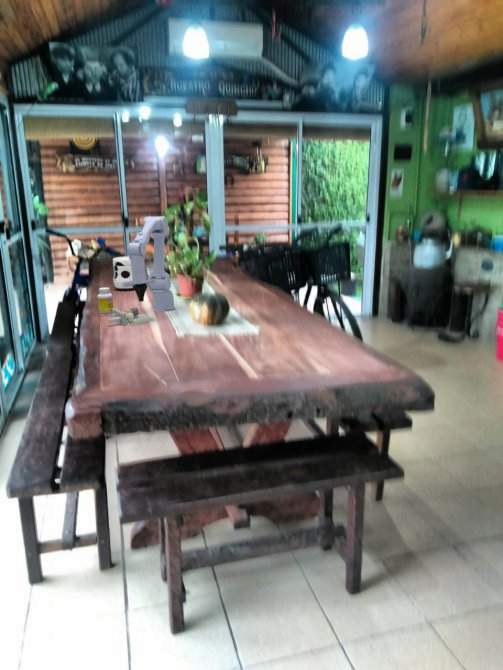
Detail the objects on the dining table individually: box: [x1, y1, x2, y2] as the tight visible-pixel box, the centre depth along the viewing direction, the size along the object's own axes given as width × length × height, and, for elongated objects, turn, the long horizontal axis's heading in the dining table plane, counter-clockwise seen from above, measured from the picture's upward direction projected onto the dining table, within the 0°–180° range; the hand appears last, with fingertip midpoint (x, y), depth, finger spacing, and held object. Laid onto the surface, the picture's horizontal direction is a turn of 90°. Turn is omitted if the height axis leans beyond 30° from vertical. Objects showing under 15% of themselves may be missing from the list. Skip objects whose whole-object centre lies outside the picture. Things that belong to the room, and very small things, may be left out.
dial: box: [124, 308, 131, 321], centre depth 231 cm, size 2×2×5 cm
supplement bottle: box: [97, 287, 114, 317], centre depth 243 cm, size 7×7×13 cm
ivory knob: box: [106, 313, 134, 324], centre depth 226 cm, size 11×4×4 cm, turn 123°
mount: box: [111, 307, 156, 326], centre depth 233 cm, size 15×14×6 cm
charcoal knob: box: [112, 307, 140, 318], centre depth 235 cm, size 11×4×4 cm, turn 123°
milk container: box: [112, 255, 134, 291], centre depth 304 cm, size 17×17×18 cm
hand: (141, 301), depth 229 cm, fingers closed
